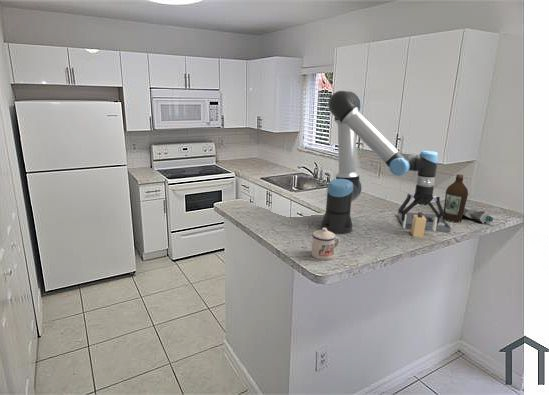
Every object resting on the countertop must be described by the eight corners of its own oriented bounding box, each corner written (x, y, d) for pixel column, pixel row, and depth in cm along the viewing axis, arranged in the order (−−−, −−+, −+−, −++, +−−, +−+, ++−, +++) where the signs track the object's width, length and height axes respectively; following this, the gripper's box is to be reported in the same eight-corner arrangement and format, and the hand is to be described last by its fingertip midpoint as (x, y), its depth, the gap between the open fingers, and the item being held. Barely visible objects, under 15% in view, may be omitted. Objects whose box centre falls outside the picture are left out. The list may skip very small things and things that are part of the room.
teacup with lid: (318, 262, 136) (320, 233, 132) (306, 252, 143) (308, 225, 140) (344, 257, 141) (347, 230, 137) (331, 248, 148) (333, 222, 145)
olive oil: (445, 215, 200) (452, 172, 193) (465, 220, 193) (474, 175, 186) (438, 219, 193) (446, 174, 186) (459, 224, 186) (468, 178, 179)
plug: (413, 236, 166) (416, 214, 163) (410, 232, 172) (414, 210, 169) (423, 237, 165) (427, 215, 162) (420, 233, 171) (424, 211, 168)
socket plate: (403, 227, 177) (404, 221, 176) (397, 215, 196) (398, 209, 195) (449, 232, 173) (451, 225, 172) (439, 219, 192) (440, 213, 191)
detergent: (440, 213, 204) (481, 226, 182) (443, 201, 202) (484, 213, 181) (456, 212, 210) (497, 225, 188) (458, 201, 208) (500, 213, 186)
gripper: (397, 185, 160) (392, 228, 166) (456, 188, 156) (449, 233, 162) (395, 181, 167) (390, 223, 173) (451, 185, 163) (444, 228, 169)
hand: (418, 228), depth 167 cm, fingers open, 13 cm apart
